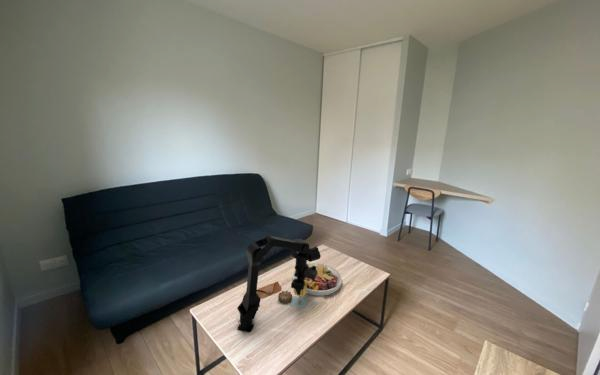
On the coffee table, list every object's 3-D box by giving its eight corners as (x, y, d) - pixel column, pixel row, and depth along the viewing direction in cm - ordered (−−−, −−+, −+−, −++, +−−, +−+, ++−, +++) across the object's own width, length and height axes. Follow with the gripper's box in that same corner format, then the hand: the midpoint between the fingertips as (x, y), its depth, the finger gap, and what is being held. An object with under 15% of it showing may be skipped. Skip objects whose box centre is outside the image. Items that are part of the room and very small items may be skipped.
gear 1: (290, 305, 126) (290, 299, 125) (276, 303, 127) (276, 296, 126) (293, 296, 133) (293, 290, 132) (280, 294, 134) (280, 288, 133)
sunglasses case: (257, 304, 127) (254, 291, 129) (252, 303, 133) (249, 291, 134) (285, 291, 138) (282, 280, 140) (279, 291, 144) (276, 280, 145)
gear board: (305, 310, 124) (305, 300, 123) (276, 305, 127) (276, 296, 126) (307, 300, 132) (308, 291, 131) (280, 296, 135) (280, 287, 133)
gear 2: (292, 295, 124) (292, 286, 123) (295, 287, 131) (295, 279, 130) (305, 297, 123) (305, 288, 122) (307, 289, 130) (307, 281, 129)
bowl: (282, 280, 149) (282, 269, 148) (316, 264, 169) (316, 254, 167) (317, 306, 127) (317, 293, 126) (351, 285, 147) (352, 273, 145)
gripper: (314, 275, 113) (312, 304, 116) (318, 256, 131) (317, 282, 134) (291, 272, 115) (290, 301, 118) (298, 254, 133) (298, 279, 136)
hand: (300, 290), depth 127 cm, fingers closed on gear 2, 7 cm apart
